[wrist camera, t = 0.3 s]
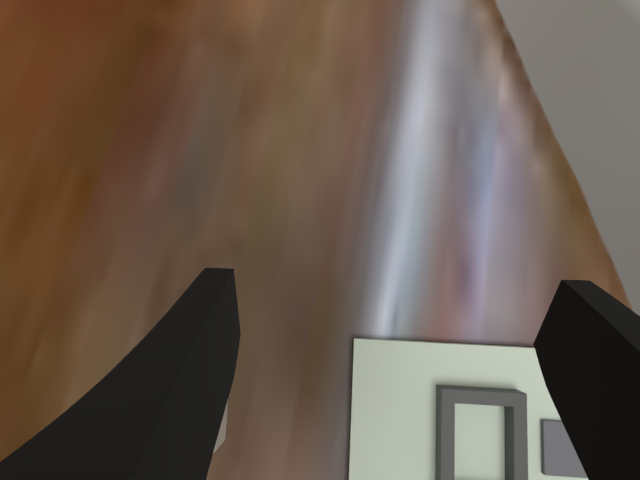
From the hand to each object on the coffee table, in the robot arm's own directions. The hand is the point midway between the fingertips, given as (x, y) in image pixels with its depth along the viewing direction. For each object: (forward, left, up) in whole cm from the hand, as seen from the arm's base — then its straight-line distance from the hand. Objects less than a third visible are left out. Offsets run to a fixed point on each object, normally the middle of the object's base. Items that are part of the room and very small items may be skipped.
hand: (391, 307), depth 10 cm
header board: (-10, -10, -29) cm, 33 cm away
